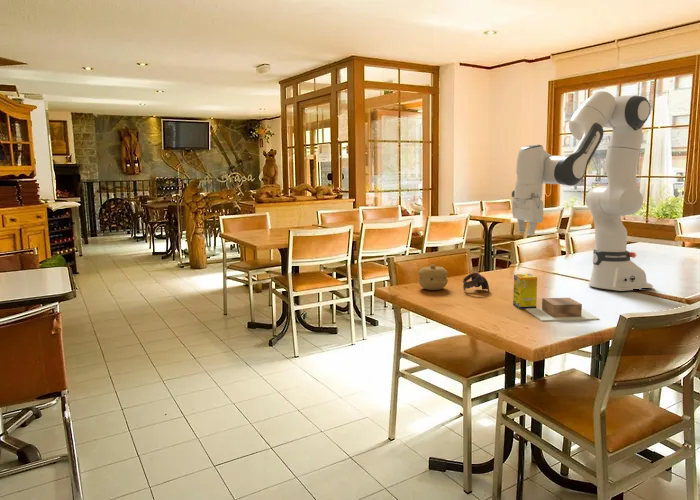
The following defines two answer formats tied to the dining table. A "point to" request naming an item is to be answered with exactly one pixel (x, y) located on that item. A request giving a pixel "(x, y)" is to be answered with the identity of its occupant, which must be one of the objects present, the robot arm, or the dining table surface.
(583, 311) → the mat
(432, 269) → the pot
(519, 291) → the supplement box
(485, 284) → the brown ceramic rounded piece
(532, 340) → the dining table surface
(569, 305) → the walnut slab
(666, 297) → the dining table surface
